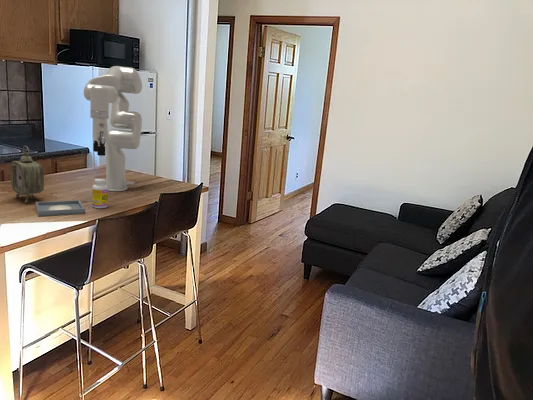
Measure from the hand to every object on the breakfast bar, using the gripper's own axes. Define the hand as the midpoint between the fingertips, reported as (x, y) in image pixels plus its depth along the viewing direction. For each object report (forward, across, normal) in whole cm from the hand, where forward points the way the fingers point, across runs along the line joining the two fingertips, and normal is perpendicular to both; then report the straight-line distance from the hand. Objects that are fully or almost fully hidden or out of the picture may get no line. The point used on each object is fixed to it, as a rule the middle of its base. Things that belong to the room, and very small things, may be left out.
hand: (99, 153), depth 197 cm
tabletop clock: (+25, +17, +28) cm, 41 cm away
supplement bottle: (+25, 0, 0) cm, 25 cm away
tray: (+25, -2, +16) cm, 30 cm away
